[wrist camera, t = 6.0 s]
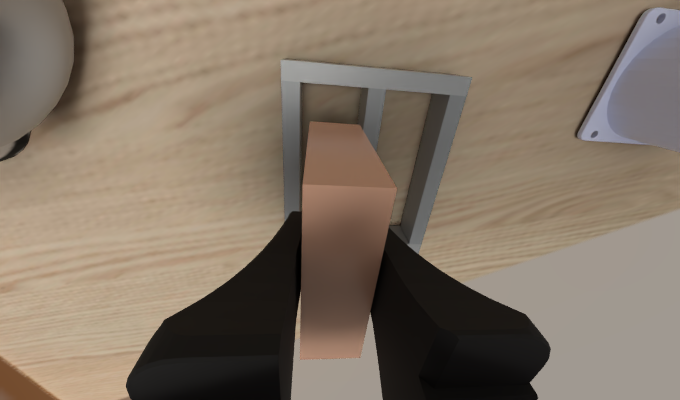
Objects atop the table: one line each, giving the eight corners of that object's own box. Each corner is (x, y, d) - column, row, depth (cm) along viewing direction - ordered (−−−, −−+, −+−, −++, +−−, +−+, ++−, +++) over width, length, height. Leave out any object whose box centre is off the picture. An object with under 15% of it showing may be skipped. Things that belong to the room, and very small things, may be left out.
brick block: (359, 124, 13) (397, 188, 7) (344, 248, 17) (360, 357, 11) (309, 121, 13) (302, 184, 7) (306, 247, 17) (300, 359, 10)
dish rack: (452, 74, 17) (472, 77, 14) (408, 235, 23) (418, 253, 21) (285, 58, 15) (280, 59, 13) (288, 232, 22) (285, 252, 20)
